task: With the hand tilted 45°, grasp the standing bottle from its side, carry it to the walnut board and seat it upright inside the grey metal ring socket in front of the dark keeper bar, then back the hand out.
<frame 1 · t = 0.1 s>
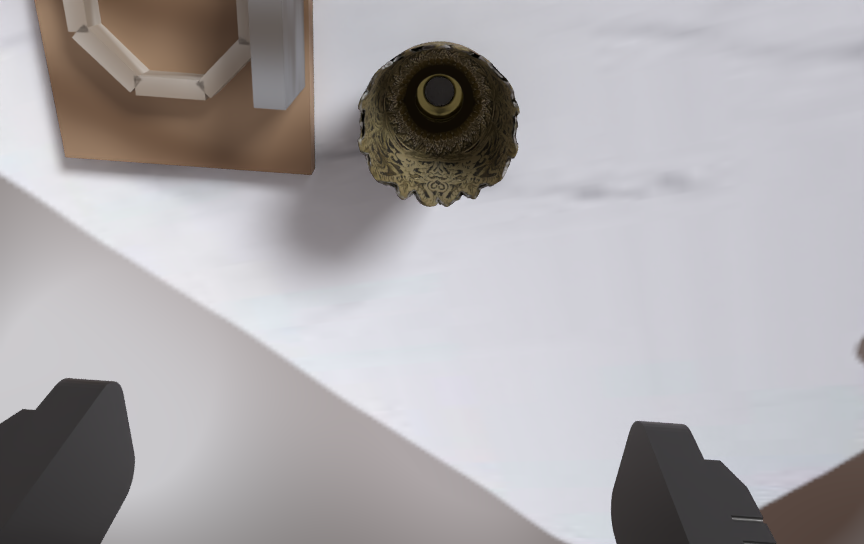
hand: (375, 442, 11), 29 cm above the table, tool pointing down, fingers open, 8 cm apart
cup: (439, 90, 37), on the table
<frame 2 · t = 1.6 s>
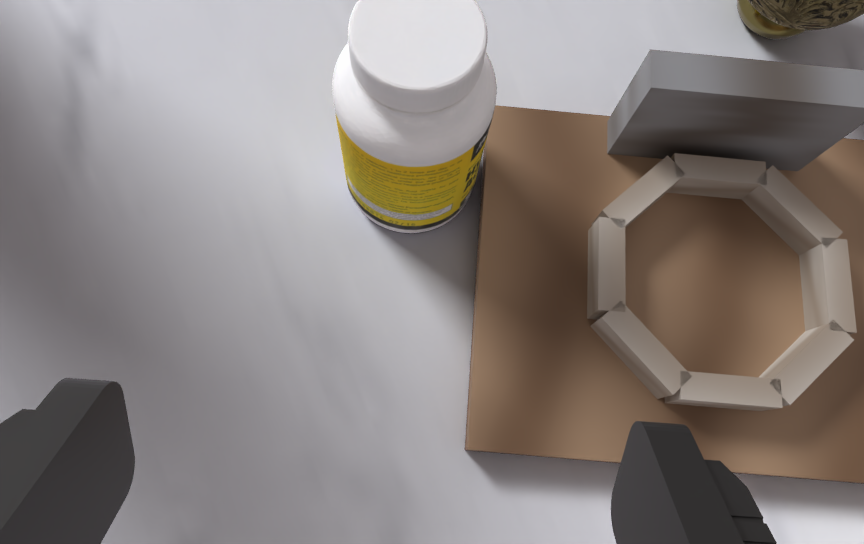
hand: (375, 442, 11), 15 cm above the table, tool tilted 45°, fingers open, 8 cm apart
cup: (766, 15, 31), on the table
socket board: (694, 292, 27), on the table
supplement bottle: (411, 178, 28), on the table
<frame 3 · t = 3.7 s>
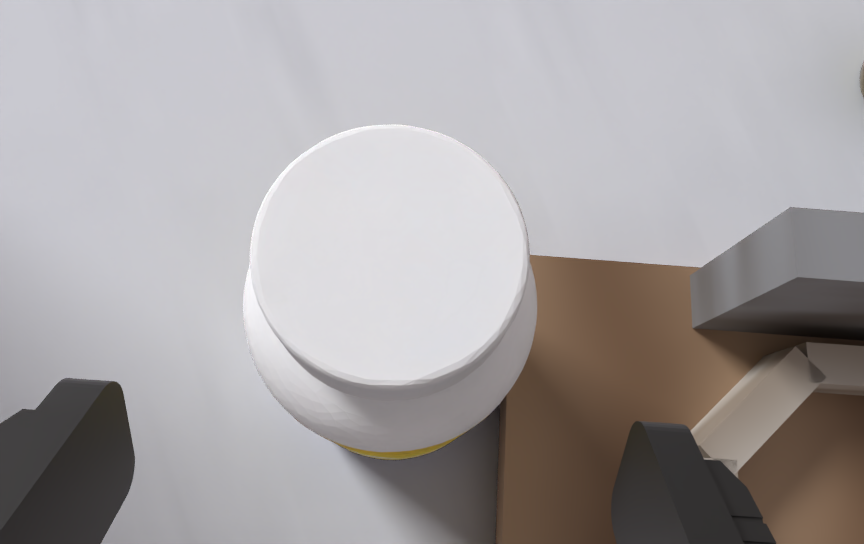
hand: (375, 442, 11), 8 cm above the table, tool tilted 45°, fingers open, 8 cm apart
socket board: (831, 540, 18), on the table
supplement bottle: (395, 361, 19), on the table
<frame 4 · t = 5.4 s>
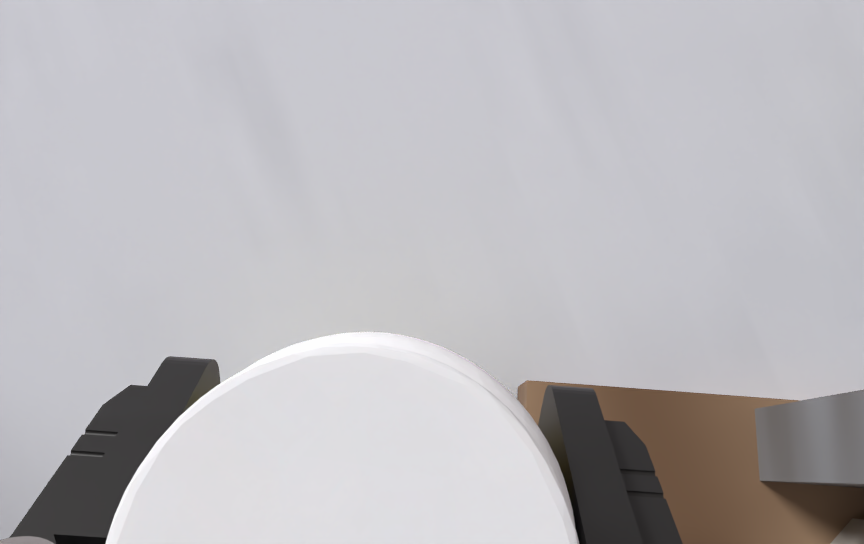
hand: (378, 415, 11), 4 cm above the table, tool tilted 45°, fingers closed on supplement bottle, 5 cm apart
supplement bottle: (379, 512, 15), on the table, touching gripper
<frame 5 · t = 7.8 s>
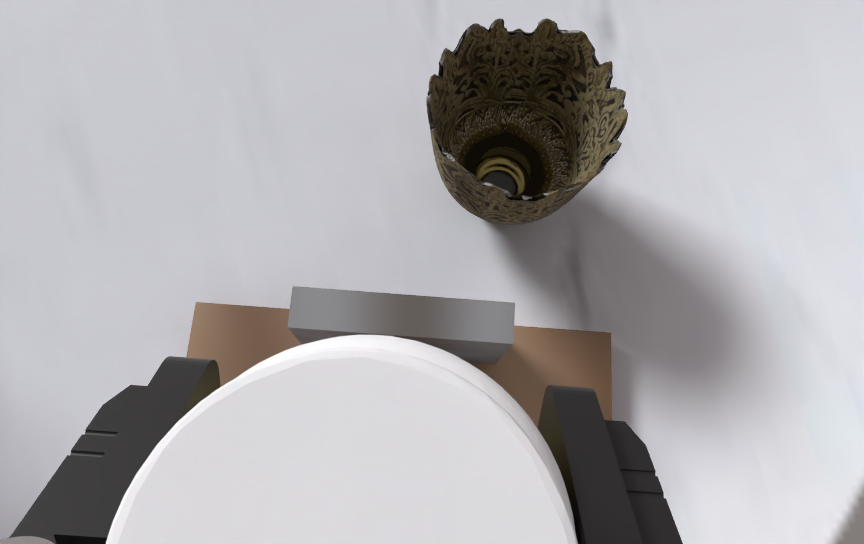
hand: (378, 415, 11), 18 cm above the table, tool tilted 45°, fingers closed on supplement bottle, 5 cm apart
cup: (498, 188, 32), on the table
socket board: (391, 486, 28), on the table
supplement bottle: (379, 514, 15), point 13 cm above the table, touching gripper
when the fingers open (7 cm above the table, at t = 10.2 s): supplement bottle drops 2 cm, resting on socket board.
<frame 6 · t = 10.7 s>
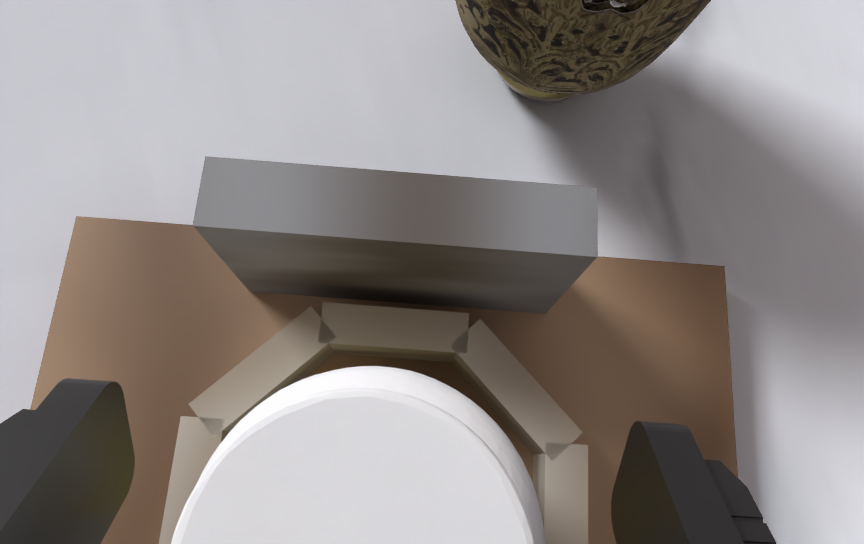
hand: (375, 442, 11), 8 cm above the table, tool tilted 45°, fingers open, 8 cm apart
cup: (541, 64, 22), on the table
socket board: (382, 506, 17), on the table
supplement bottle: (379, 516, 16), point 1 cm above the table, touching socket board
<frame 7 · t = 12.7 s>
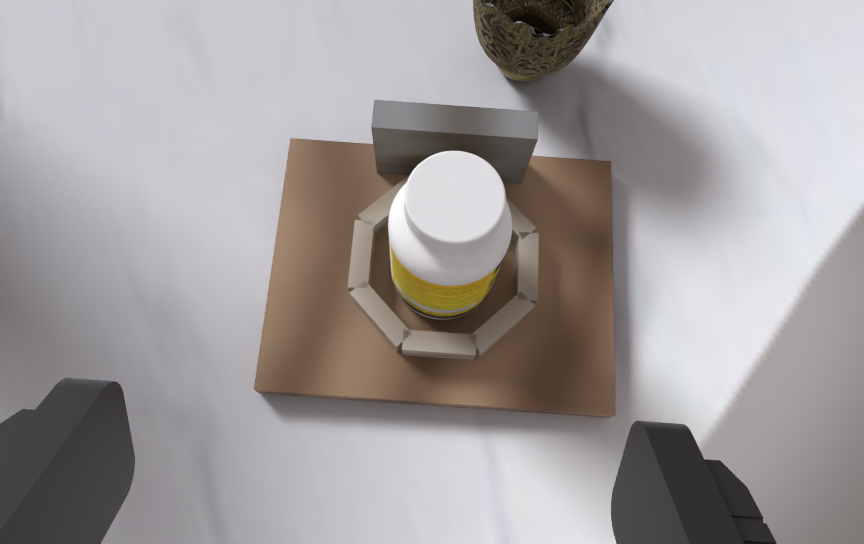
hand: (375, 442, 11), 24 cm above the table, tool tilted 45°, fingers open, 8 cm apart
cup: (521, 63, 41), on the table
socket board: (442, 275, 36), on the table
supplement bottle: (442, 273, 35), point 1 cm above the table, touching socket board
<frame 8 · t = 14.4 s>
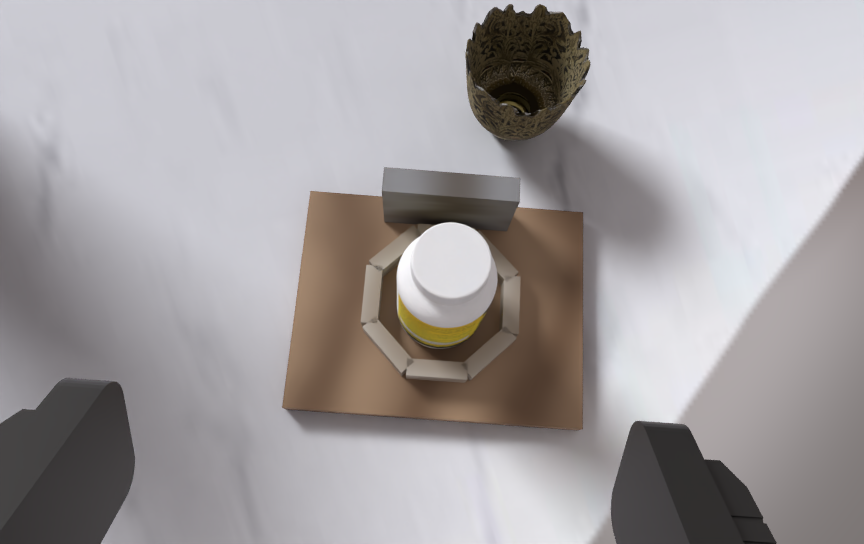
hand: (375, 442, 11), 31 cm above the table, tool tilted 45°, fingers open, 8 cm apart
cup: (508, 122, 47), on the table
socket board: (439, 309, 43), on the table
supplement bottle: (439, 308, 42), point 1 cm above the table, touching socket board
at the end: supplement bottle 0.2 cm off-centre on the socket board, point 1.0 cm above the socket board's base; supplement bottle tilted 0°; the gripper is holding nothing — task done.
